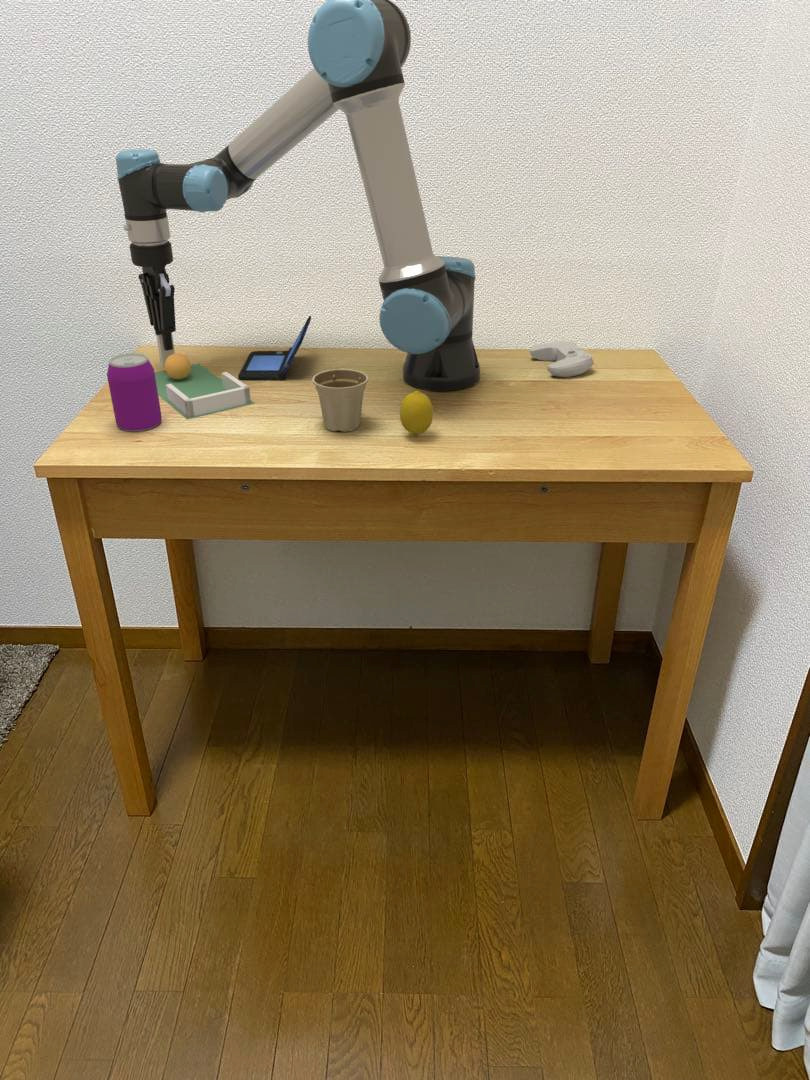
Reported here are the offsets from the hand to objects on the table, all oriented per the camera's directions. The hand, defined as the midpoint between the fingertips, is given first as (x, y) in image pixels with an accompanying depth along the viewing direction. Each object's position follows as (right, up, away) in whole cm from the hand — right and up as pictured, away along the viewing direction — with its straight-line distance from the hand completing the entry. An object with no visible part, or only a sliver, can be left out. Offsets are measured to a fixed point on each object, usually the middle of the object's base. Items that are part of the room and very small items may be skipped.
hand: (168, 364), depth 170 cm
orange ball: (+3, -1, -4) cm, 6 cm away
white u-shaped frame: (+11, -10, -13) cm, 20 cm away
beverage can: (+1, -15, -22) cm, 27 cm away
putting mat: (+7, -7, -8) cm, 13 cm away
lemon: (+49, -18, -26) cm, 58 cm away
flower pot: (+36, -15, -22) cm, 45 cm away
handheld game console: (+21, -1, +3) cm, 22 cm away
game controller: (+79, 0, +4) cm, 79 cm away
